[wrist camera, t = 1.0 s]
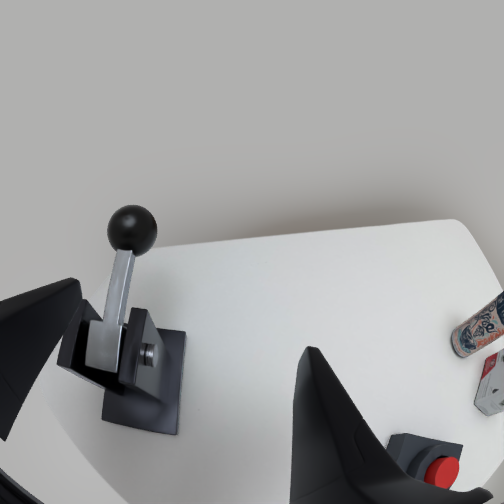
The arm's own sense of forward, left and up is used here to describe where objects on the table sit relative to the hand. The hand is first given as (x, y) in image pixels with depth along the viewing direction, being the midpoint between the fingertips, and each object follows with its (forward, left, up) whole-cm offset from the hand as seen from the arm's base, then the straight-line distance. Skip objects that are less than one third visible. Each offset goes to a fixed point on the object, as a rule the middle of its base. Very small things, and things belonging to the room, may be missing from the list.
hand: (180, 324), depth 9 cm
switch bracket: (-2, +5, -17) cm, 17 cm away
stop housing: (-1, -25, -17) cm, 30 cm away
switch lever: (+2, +7, -8) cm, 10 cm away
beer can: (+18, -29, -17) cm, 38 cm away
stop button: (-1, -25, -12) cm, 28 cm away
